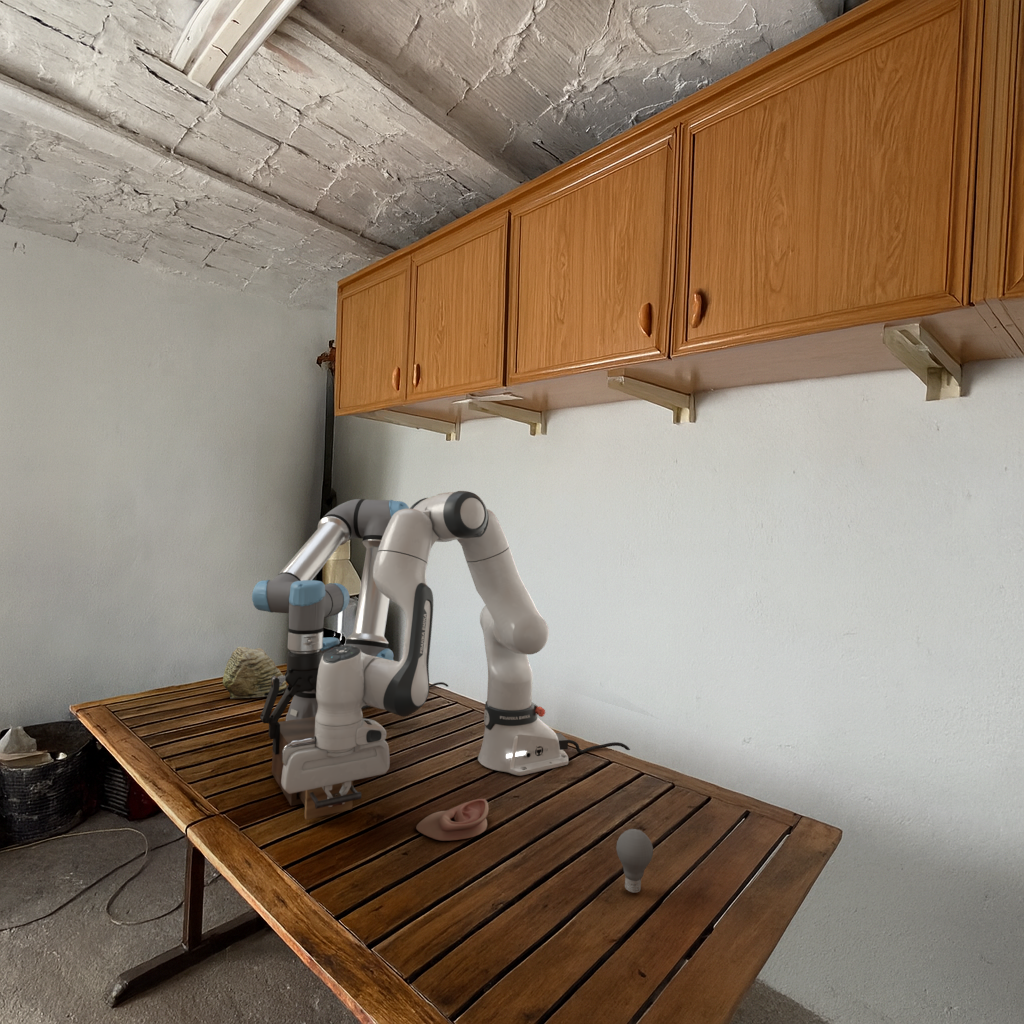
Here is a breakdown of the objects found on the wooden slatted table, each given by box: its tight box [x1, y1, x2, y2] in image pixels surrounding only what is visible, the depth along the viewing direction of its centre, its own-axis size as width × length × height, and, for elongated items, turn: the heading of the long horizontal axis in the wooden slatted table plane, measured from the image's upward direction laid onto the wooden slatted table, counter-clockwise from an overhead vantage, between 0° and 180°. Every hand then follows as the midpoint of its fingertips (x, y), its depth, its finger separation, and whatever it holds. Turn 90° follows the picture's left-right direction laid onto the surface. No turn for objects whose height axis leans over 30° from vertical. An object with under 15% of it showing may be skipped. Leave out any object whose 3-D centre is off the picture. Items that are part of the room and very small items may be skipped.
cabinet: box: [271, 717, 315, 807], centre depth 139 cm, size 18×10×12 cm, turn 33°
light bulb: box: [615, 828, 654, 894], centre depth 106 cm, size 6×6×10 cm
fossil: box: [222, 646, 288, 699], centre depth 198 cm, size 9×18×15 cm, turn 132°
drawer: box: [297, 780, 362, 821], centre depth 129 cm, size 22×9×10 cm, turn 33°
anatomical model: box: [415, 798, 489, 842], centre depth 124 cm, size 13×4×12 cm
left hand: (301, 747), depth 143 cm, fingers closed on cabinet, 10 cm apart
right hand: (335, 804), depth 122 cm, fingers closed, pressing on drawer
